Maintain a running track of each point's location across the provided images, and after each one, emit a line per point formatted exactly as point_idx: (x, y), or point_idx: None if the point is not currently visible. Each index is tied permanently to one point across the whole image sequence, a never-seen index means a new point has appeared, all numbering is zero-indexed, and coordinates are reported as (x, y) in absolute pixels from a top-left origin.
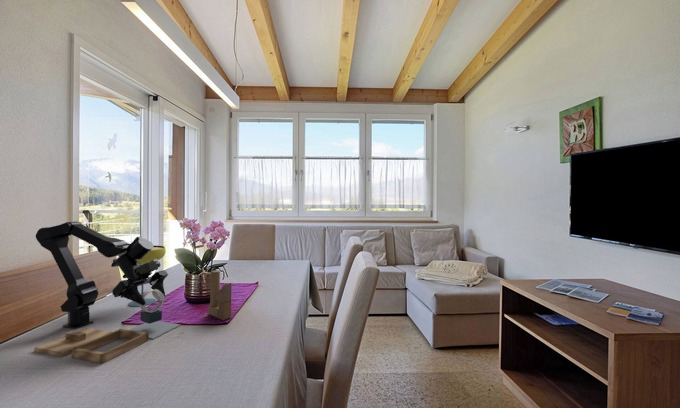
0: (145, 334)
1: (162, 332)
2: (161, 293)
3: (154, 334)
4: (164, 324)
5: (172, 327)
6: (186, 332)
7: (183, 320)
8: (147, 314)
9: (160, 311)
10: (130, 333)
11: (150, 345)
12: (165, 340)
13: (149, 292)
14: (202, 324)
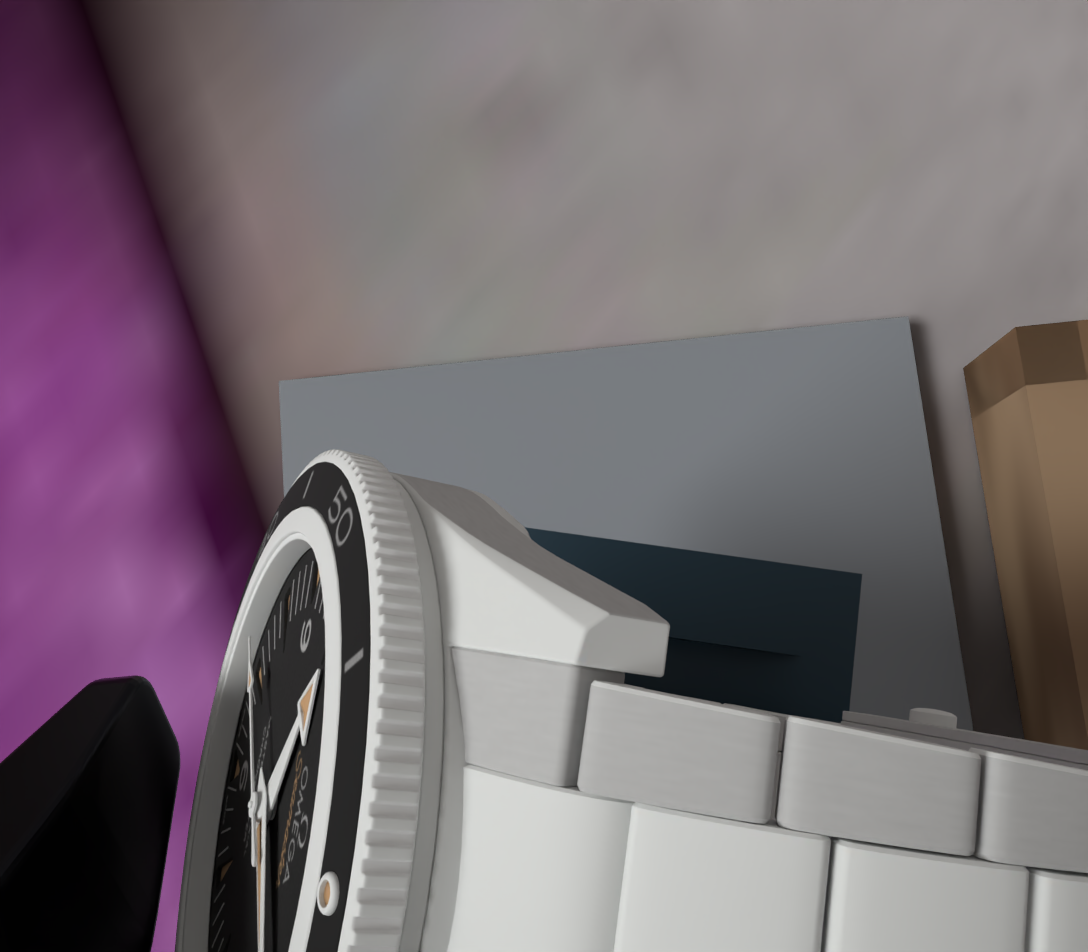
0: (1083, 322)
1: (675, 379)
2: (386, 483)
3: (792, 439)
4: None
5: (441, 403)
6: (478, 61)
7: (72, 544)
8: (848, 684)
9: (539, 543)
10: None
11: (1067, 174)
12: (839, 115)
13: (1048, 771)
14: (121, 77)
